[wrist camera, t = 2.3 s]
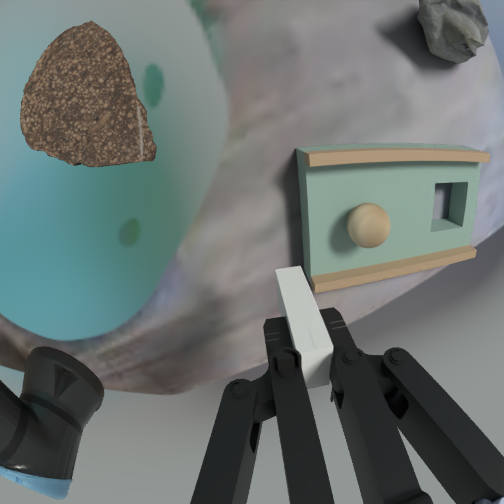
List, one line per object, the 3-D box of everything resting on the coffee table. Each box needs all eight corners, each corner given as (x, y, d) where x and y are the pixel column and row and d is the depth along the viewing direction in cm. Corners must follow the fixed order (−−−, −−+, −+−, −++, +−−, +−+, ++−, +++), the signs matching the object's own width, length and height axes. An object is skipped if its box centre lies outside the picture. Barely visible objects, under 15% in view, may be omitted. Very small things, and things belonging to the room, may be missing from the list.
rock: (197, 130, 19) (88, 223, 16) (146, 139, 26) (72, 203, 23) (118, -3, 11) (-13, 78, 8) (89, 47, 18) (4, 108, 15)
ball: (340, 239, 26) (356, 259, 23) (339, 199, 24) (358, 214, 21) (376, 234, 26) (396, 252, 23) (378, 195, 24) (400, 209, 21)
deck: (303, 269, 31) (314, 292, 27) (295, 147, 25) (309, 154, 21) (454, 241, 31) (474, 257, 27) (464, 146, 25) (489, 153, 21)
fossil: (401, 56, 21) (451, 47, 13) (383, -14, 16) (424, -38, 9) (468, 69, 21) (515, 70, 13) (453, 6, 16) (496, -3, 9)
